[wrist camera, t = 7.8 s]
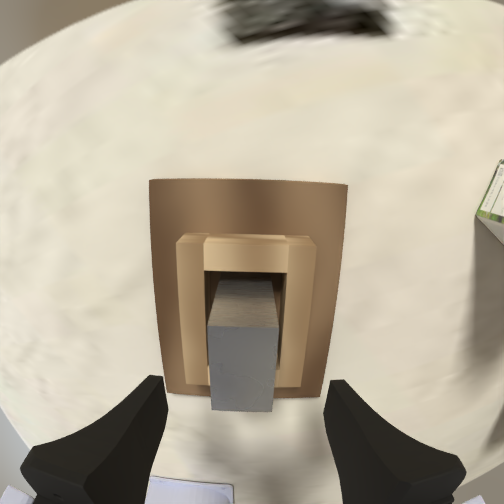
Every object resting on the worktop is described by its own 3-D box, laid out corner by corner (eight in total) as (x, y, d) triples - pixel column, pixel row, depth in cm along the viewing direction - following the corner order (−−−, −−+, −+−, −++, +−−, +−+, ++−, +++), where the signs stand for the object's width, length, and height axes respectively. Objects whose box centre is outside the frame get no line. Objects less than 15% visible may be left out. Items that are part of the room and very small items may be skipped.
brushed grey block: (222, 339, 21) (211, 410, 14) (221, 271, 20) (207, 325, 13) (266, 341, 21) (271, 411, 14) (270, 272, 20) (279, 327, 13)
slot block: (169, 384, 23) (160, 413, 20) (153, 179, 19) (134, 182, 16) (317, 389, 23) (325, 418, 20) (343, 184, 19) (361, 188, 16)
